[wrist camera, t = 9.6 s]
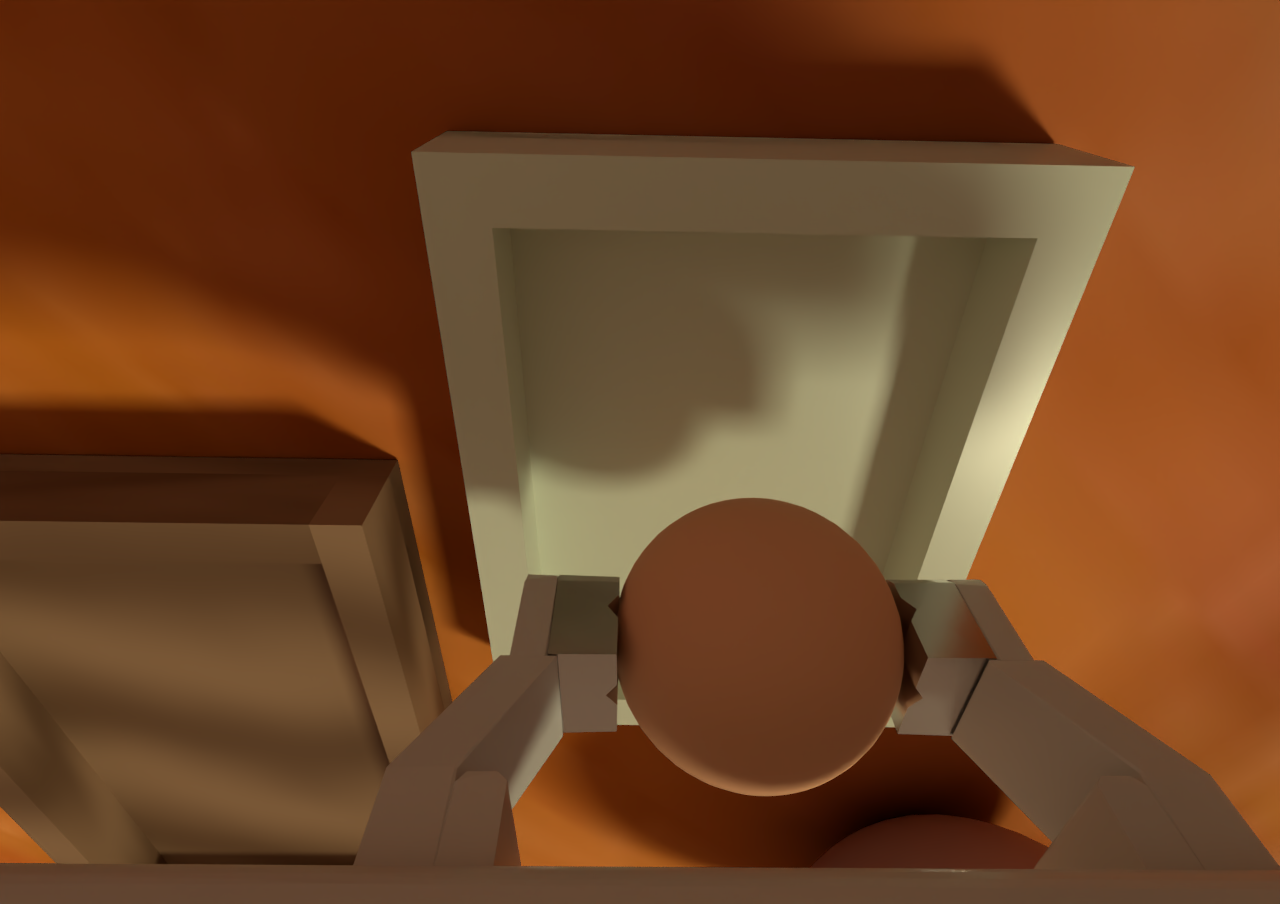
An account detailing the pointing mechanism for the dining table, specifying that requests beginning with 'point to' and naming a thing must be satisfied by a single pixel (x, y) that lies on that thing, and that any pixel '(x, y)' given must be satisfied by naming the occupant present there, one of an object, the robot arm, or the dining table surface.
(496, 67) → the dining table surface
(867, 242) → the tray
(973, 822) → the mortar and pestle
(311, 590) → the dish
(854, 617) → the ball
